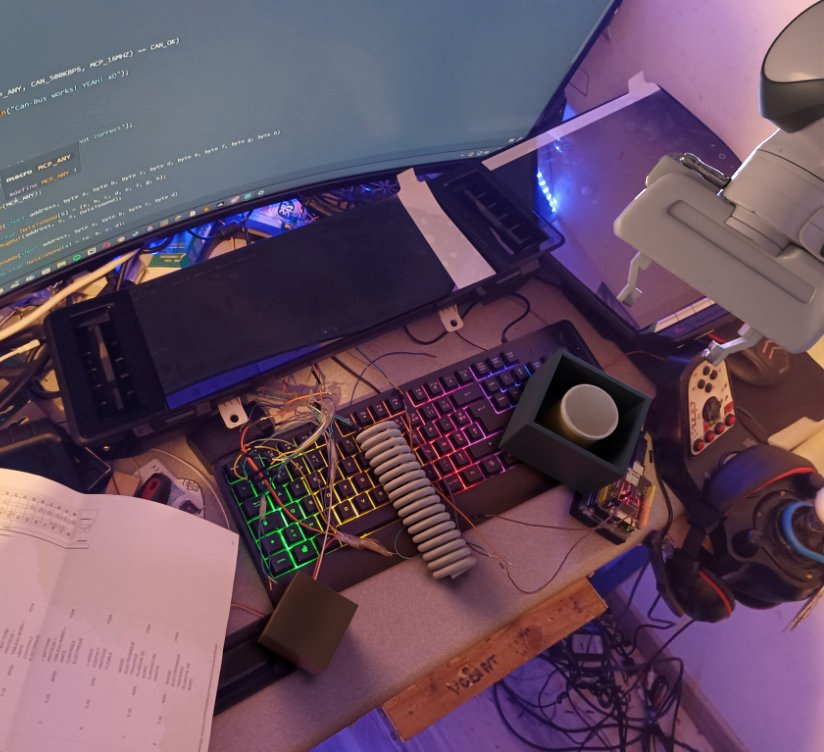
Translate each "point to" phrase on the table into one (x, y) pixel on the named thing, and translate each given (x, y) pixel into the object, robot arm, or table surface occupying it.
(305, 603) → the block
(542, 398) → the waste bin
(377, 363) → the table surface
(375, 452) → the coil
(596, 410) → the paper cup
